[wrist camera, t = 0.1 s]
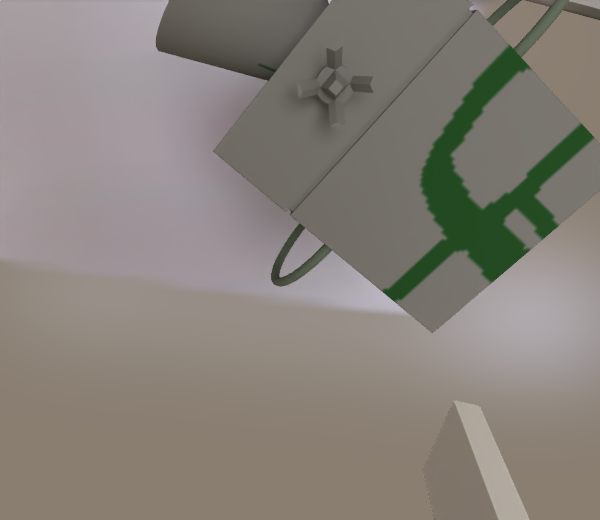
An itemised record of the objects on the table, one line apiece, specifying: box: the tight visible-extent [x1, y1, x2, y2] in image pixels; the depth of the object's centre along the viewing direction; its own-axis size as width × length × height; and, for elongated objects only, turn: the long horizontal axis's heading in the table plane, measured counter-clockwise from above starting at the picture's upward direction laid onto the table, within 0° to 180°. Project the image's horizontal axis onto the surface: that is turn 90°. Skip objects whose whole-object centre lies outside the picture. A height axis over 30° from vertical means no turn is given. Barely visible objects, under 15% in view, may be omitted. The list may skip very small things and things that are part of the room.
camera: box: [156, 0, 600, 333], centre depth 25 cm, size 16×16×25 cm
